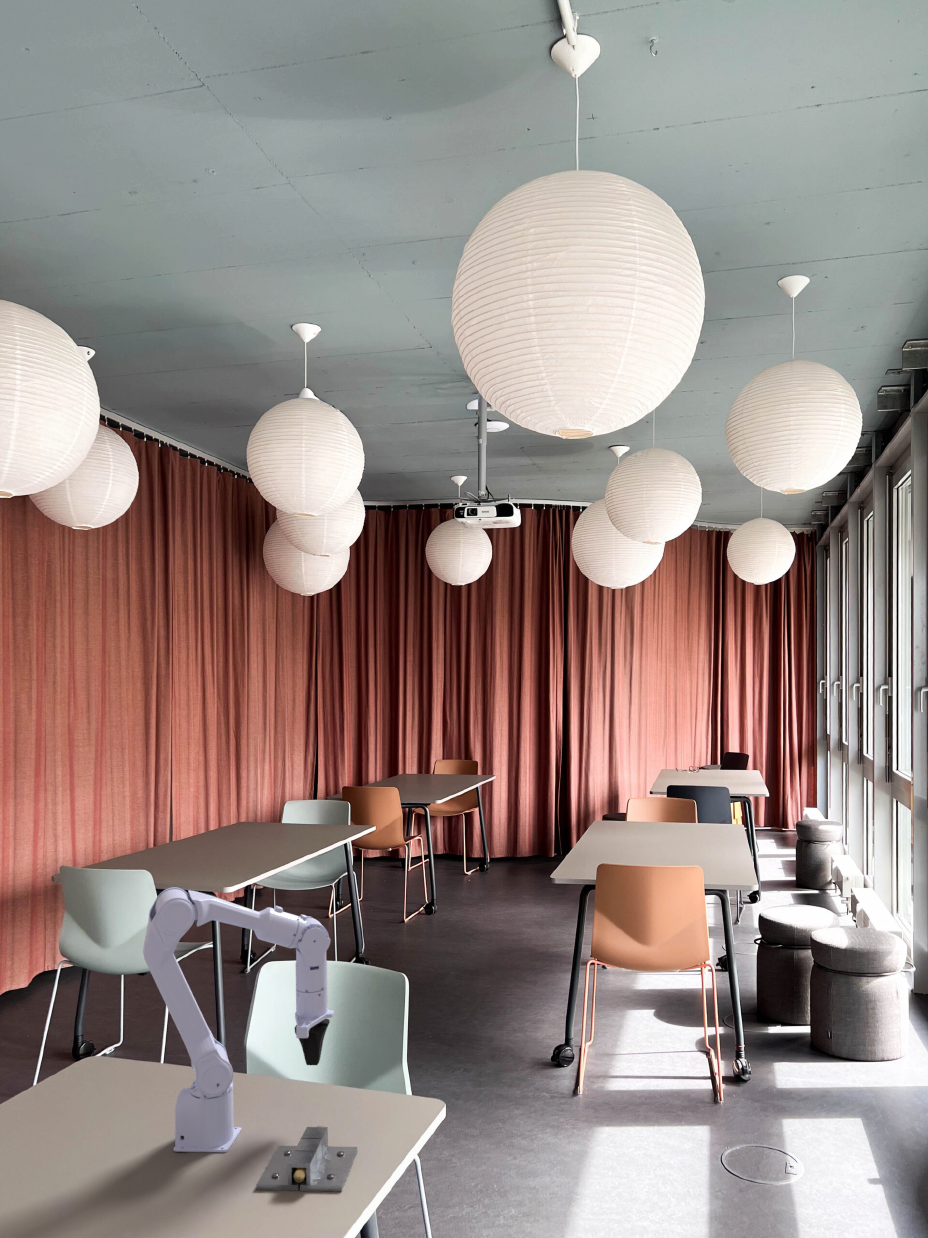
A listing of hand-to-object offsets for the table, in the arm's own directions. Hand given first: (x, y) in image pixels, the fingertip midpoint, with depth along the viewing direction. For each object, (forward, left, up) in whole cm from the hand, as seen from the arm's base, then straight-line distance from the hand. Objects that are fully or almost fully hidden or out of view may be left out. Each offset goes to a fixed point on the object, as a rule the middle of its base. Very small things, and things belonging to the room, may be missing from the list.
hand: (312, 1064), depth 168 cm
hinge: (+4, -17, -10) cm, 20 cm away
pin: (+4, -16, -9) cm, 19 cm away
